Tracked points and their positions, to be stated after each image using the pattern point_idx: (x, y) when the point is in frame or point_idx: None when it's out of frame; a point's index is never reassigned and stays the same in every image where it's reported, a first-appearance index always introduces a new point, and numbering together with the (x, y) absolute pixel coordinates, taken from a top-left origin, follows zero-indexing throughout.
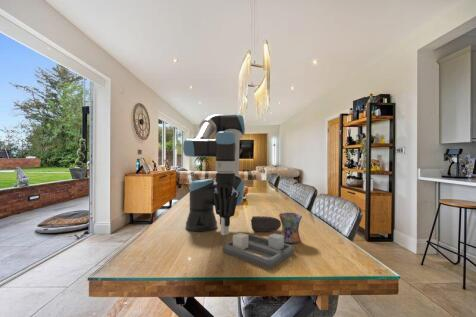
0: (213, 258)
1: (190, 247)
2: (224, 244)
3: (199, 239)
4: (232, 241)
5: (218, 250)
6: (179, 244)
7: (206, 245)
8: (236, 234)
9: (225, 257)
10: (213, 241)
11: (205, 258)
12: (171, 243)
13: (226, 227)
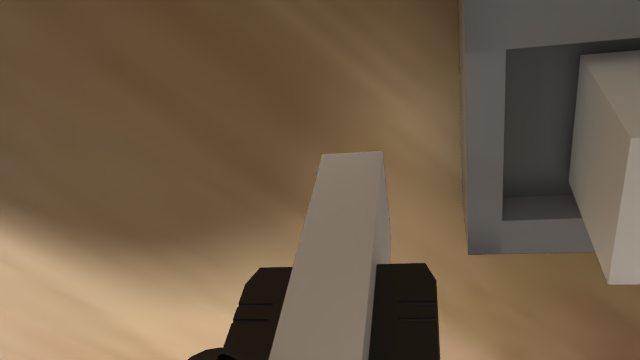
0: (498, 321)
1: (180, 307)
2: (479, 243)
3: (22, 159)
4: (488, 126)
5: (399, 206)
6: (73, 322)
7: (215, 205)
8: (632, 230)
9: (571, 258)
10: (150, 93)
11: (448, 351)
12: (25, 343)
13: (379, 259)
